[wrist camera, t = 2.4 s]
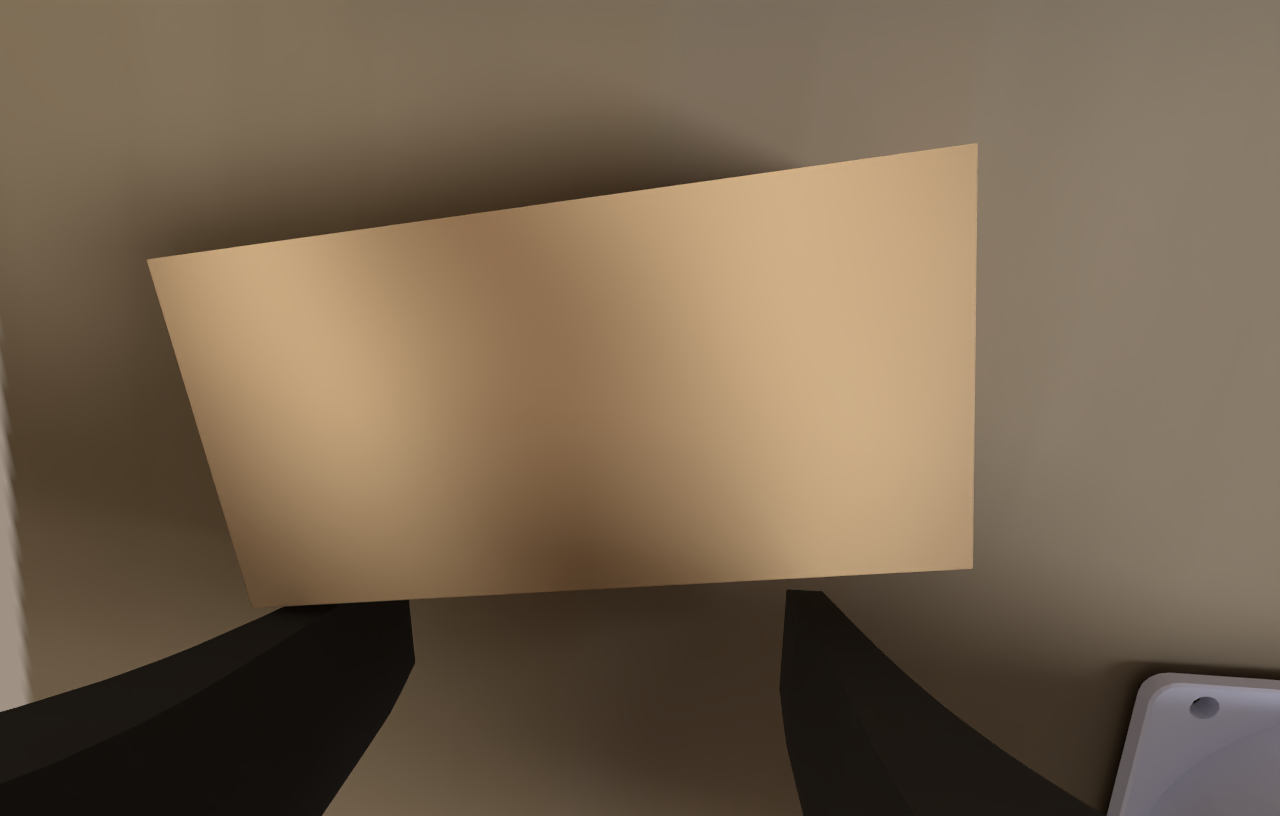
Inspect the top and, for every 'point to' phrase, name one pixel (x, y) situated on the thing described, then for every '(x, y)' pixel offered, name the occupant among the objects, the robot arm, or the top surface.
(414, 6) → the top surface
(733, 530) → the oak bar
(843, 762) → the robot arm
